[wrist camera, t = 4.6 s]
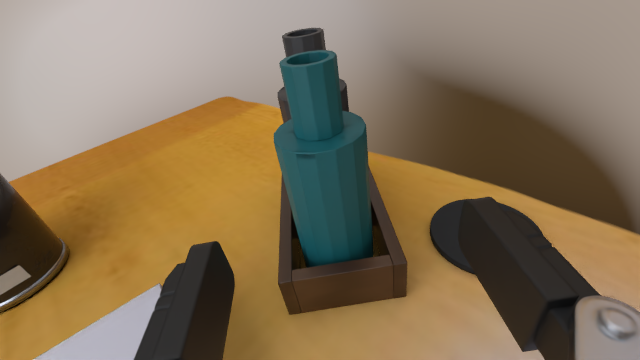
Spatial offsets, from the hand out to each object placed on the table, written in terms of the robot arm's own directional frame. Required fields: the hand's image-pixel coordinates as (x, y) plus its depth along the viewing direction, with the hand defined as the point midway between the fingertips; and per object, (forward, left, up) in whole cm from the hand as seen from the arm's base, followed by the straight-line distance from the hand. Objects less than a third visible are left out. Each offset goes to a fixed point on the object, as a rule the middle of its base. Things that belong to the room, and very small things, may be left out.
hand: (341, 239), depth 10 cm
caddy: (-5, +14, -14) cm, 21 cm away
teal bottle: (-4, +11, -14) cm, 18 cm away
